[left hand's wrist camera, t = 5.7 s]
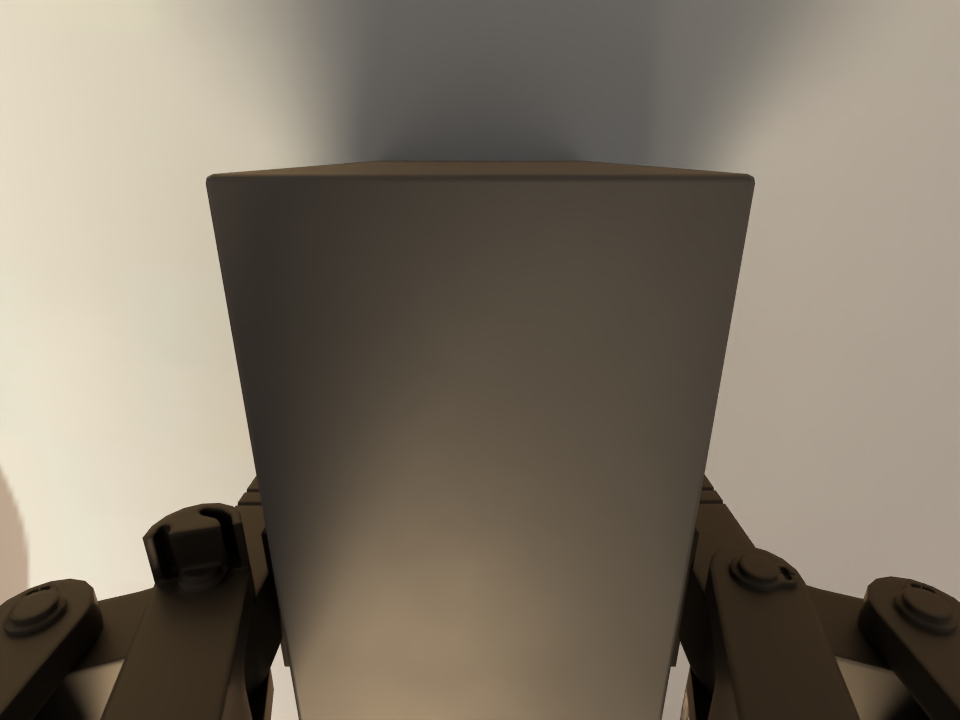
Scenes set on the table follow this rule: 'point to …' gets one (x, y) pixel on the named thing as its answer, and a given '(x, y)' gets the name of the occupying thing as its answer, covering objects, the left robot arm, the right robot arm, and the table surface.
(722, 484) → the table surface
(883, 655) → the left robot arm
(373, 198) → the post
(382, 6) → the table surface
